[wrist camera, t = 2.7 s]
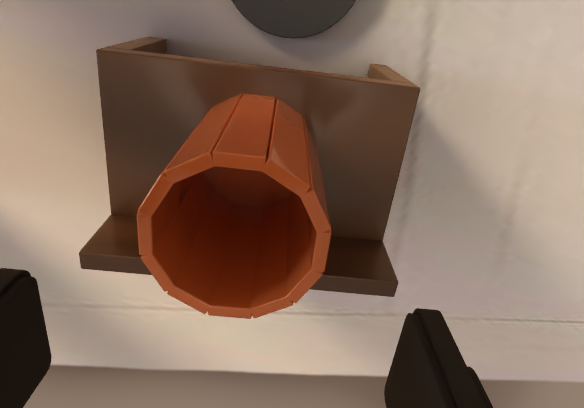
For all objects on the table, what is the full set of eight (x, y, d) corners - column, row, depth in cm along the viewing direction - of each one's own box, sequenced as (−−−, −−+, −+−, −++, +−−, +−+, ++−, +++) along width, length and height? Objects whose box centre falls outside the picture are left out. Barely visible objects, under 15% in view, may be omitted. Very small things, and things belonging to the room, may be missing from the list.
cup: (194, 87, 20) (131, 143, 12) (323, 102, 21) (344, 165, 13) (193, 203, 23) (141, 309, 15) (306, 214, 24) (315, 325, 16)
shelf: (147, 36, 27) (51, 59, 16) (387, 65, 28) (448, 106, 17) (153, 176, 31) (80, 269, 20) (359, 198, 32) (394, 297, 21)
